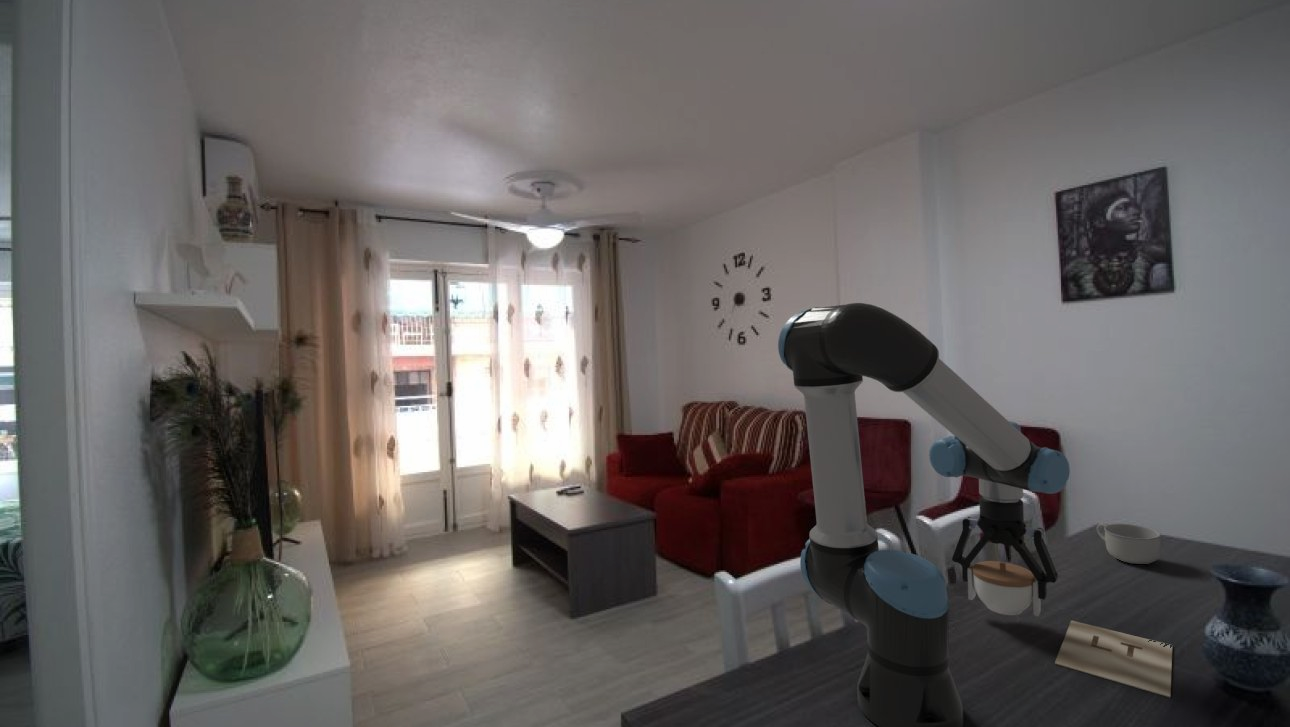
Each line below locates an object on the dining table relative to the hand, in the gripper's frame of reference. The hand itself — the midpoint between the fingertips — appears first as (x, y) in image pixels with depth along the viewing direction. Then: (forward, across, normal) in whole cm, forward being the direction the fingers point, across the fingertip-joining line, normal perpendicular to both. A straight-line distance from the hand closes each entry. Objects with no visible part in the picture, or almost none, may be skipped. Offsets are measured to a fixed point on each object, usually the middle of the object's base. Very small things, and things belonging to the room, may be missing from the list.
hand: (1003, 605), depth 115 cm
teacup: (+4, -16, -56) cm, 59 cm away
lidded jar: (+1, 0, 0) cm, 1 cm away
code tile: (+4, -18, +1) cm, 18 cm away
